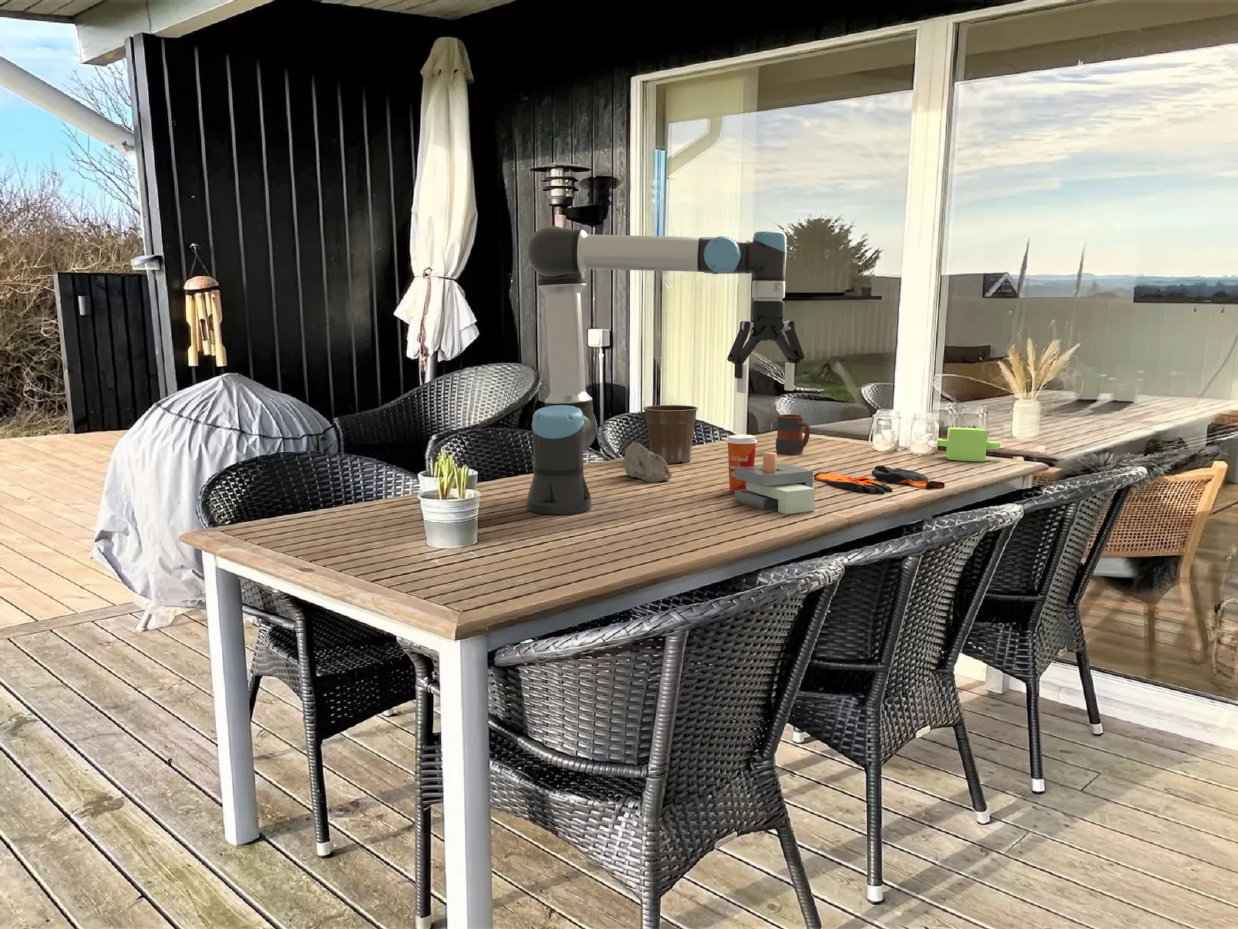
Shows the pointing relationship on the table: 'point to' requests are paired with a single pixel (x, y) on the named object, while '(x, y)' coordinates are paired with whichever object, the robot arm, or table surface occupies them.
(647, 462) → the pumice stone
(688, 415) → the plant pot
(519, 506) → the table surface
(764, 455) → the pin
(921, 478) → the pair of gloves
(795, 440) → the mug
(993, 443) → the gearbox
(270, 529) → the table surface
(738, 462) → the paper cup
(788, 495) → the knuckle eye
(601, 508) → the table surface
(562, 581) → the table surface
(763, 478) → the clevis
